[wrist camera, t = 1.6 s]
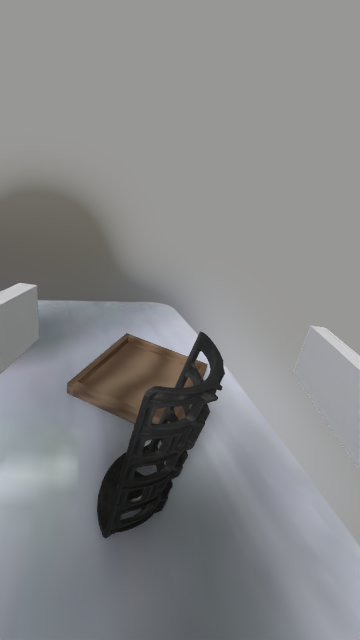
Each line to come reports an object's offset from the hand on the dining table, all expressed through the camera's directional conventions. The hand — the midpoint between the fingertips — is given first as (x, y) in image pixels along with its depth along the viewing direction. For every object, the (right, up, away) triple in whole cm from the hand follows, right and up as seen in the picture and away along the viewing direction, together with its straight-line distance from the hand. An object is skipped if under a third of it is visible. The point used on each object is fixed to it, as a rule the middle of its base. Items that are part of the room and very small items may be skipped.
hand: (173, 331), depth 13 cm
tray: (-6, -10, +35) cm, 36 cm away
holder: (-4, -19, +18) cm, 27 cm away
